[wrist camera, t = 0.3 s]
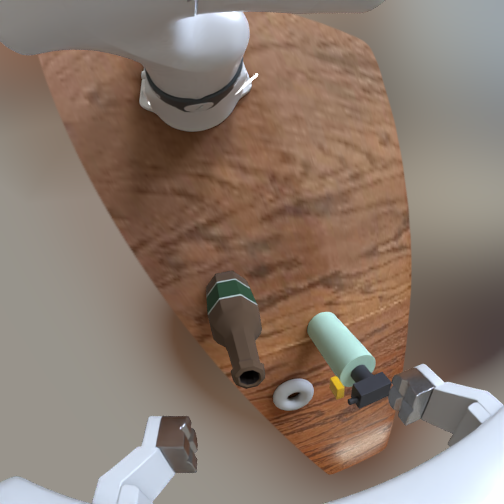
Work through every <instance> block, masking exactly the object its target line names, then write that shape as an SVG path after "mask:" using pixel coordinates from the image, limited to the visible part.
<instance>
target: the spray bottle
mask: <svg viewBox="0 0 504 504" xmlns="http://www.w3.org/2000/svg"><path fill="white" fill-rule="evenodd" d="M307 332H308V335H309V337H310V338H311V340H312V341H313V343H314V344H315V346H316V347H317V348H318V350H319V351H320V353H321V354H322V356H323V357H324V359H325V360H326V362H327V363H328V365H329V366H330V368H331V369H332V371H333V372H334V374H335V375H336V376H337V377H338V378H339V380H340V381H341V383H342V384H343V385H344V386H347V387H351V386H352V394H351V397H352V398H350V399H348V404H349V405H352V404H354V403H356V405H357V406H358V408H362V407H364V406H366V405H369V404H371V403H373V402H375V401H378V400H380V399H382V398H384V397H386V396H388V394H389V390H390V387H391V381H390V380H389V379H388V378H387V377H386V376H385V374H384V373H383V372H380V373H378V374H376V375H373V374H372V372H373V370H374V367H375V359H374V357H373V356H372V355H371V354H370V353H369V352H368V351H367V349H366V348H365V347H364V346H363V345H362V344H361V343H360V342H359V341H358V340H357V339H356V337H355V336H354V335H353V334H352V333H351V332H350V331H349V330H348V329H347V328H346V327H345V326H344V325H343V323H342V322H341V321H340V320H339V319H338V318H337V317H336V316H335V315H334V314H333V313H331V312H322V313H319V314H317V315H316V316H314V317H313V318H312V319H311V321H310V322H309V324H308V328H307Z"/></svg>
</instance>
